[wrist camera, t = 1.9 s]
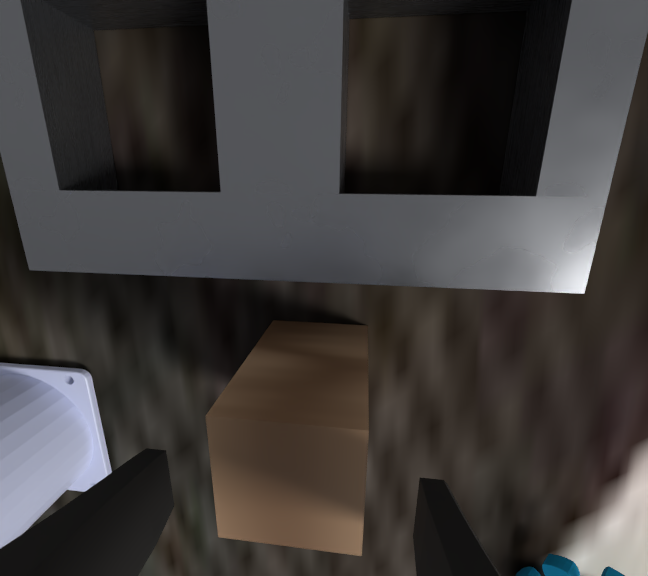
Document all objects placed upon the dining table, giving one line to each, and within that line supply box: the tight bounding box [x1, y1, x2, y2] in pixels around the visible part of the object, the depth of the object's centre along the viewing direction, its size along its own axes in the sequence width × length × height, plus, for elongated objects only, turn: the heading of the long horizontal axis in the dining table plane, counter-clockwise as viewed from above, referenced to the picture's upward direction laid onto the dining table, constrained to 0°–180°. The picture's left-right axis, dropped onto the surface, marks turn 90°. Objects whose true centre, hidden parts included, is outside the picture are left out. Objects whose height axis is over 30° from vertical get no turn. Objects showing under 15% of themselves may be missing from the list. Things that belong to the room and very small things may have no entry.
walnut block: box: [206, 320, 369, 556], centre depth 13 cm, size 4×4×7 cm
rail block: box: [0, 0, 648, 293], centre depth 12 cm, size 20×12×3 cm, turn 90°
